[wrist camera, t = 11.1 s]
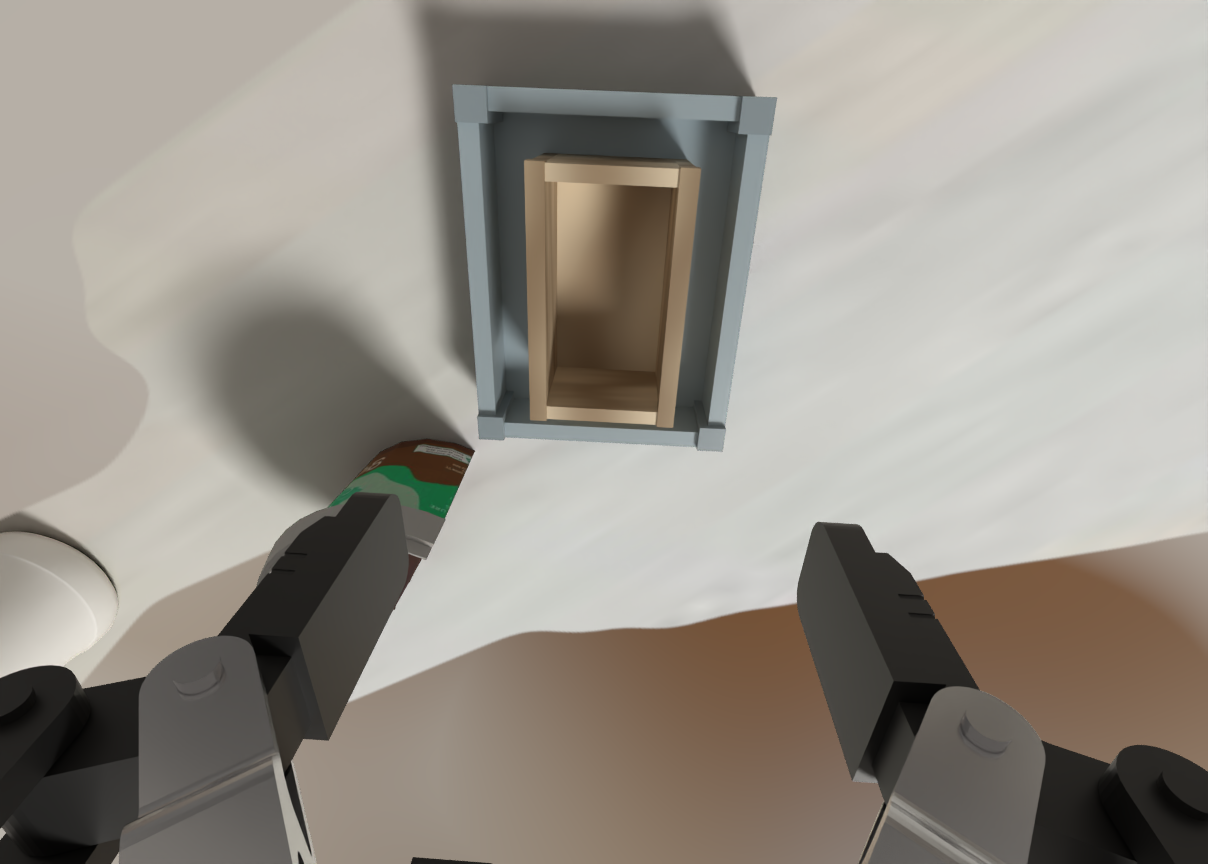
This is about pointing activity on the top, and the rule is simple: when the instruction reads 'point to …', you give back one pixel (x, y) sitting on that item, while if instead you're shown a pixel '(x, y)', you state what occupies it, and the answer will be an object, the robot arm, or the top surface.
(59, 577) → the vodka
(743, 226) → the crate
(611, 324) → the small crate
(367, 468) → the food container
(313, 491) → the top surface
